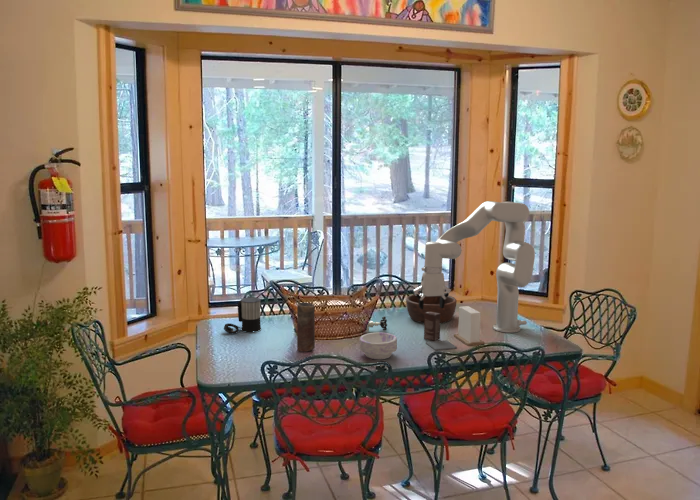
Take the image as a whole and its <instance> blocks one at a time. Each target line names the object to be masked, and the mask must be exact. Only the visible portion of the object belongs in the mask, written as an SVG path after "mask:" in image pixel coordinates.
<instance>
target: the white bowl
mask: <svg viewBox="0 0 700 500" xmlns="http://www.w3.org/2000/svg"><path fill="white" fill-rule="evenodd" d="M397 349H398V338H397V336H396V335H395V334H392V333H387V332H381V331H380V332H367V333H365V334H363V335H361V336H360V337H359V350H360V351H361V352H363V353H364V355H365V356H366V357H367V358H368V359H371V360H386V359H389V358H391V356H392V354H393V353H395V352H396V351H397Z"/></svg>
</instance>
